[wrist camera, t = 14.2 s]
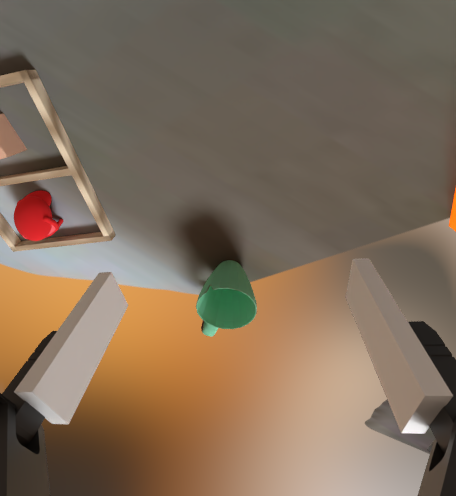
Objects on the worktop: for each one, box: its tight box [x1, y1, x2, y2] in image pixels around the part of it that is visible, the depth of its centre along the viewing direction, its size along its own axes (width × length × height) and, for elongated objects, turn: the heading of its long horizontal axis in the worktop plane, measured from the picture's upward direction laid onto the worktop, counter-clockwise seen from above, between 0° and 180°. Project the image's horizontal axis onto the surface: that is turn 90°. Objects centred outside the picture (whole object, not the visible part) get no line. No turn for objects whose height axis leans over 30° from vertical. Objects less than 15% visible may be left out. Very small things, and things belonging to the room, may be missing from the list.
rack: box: [0, 70, 115, 251], centre depth 41 cm, size 25×20×2 cm
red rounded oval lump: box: [14, 190, 63, 241], centre depth 43 cm, size 8×6×6 cm
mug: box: [196, 260, 257, 336], centre depth 47 cm, size 15×10×10 cm
